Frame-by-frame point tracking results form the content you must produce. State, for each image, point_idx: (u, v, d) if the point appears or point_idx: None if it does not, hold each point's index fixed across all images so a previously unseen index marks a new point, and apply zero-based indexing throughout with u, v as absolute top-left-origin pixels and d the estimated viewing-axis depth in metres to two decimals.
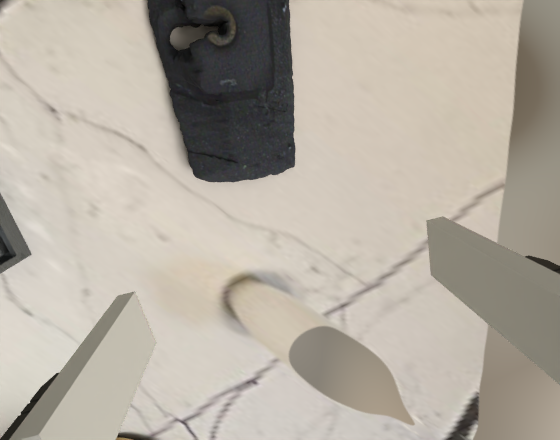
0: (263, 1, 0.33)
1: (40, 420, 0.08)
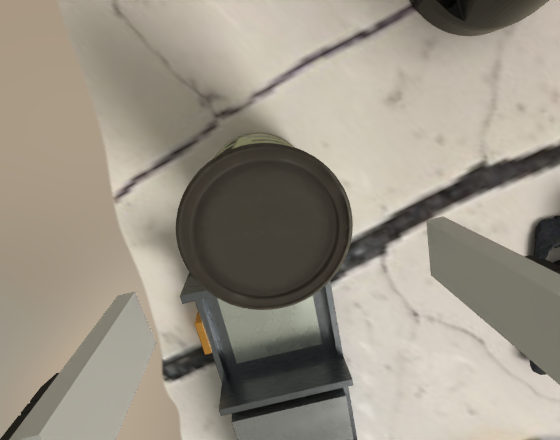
0: None
1: (40, 420, 0.08)
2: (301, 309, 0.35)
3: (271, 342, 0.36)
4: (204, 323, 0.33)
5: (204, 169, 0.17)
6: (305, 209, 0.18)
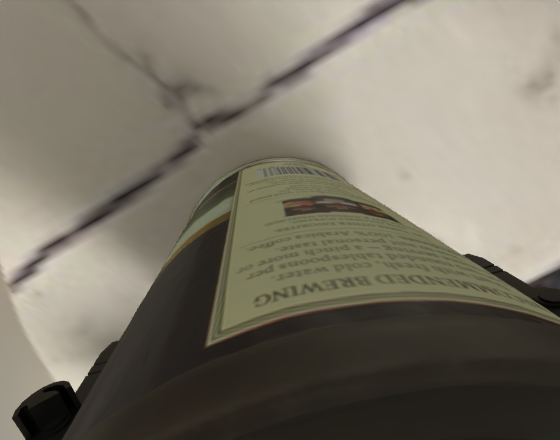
0: None
1: None
2: None
3: None
4: None
5: None
6: None
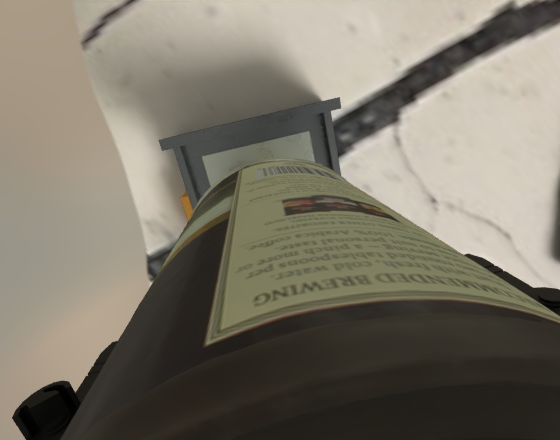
0: None
1: None
2: None
3: None
4: (191, 198, 0.29)
5: None
6: None
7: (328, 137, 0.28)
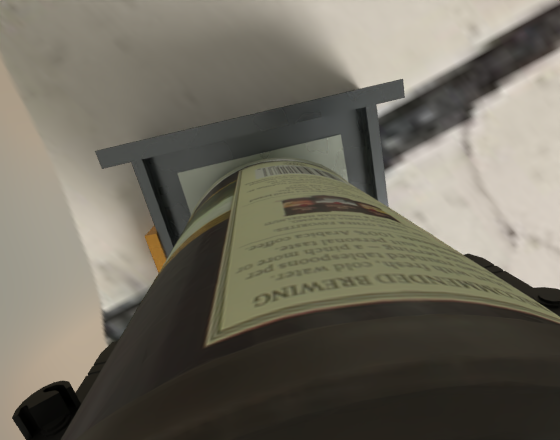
0: None
1: None
2: None
3: None
4: (162, 236, 0.19)
5: None
6: None
7: (371, 144, 0.19)
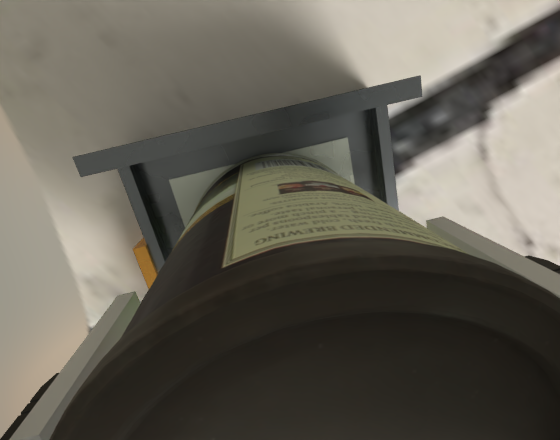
0: None
1: (40, 420, 0.08)
2: None
3: None
4: (152, 249, 0.17)
5: (117, 368, 0.04)
6: None
7: (381, 148, 0.17)
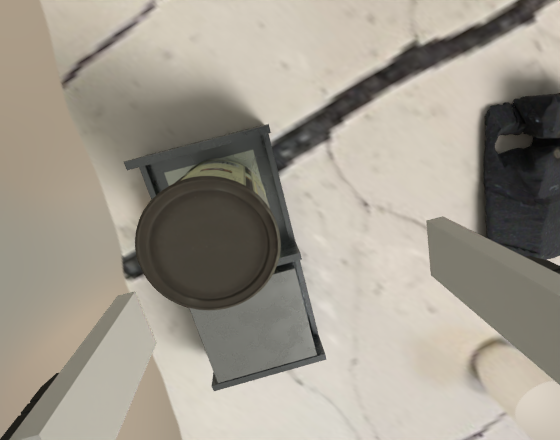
0: None
1: (40, 420, 0.08)
2: None
3: None
4: None
5: (154, 199, 0.22)
6: (239, 226, 0.23)
7: (268, 154, 0.35)
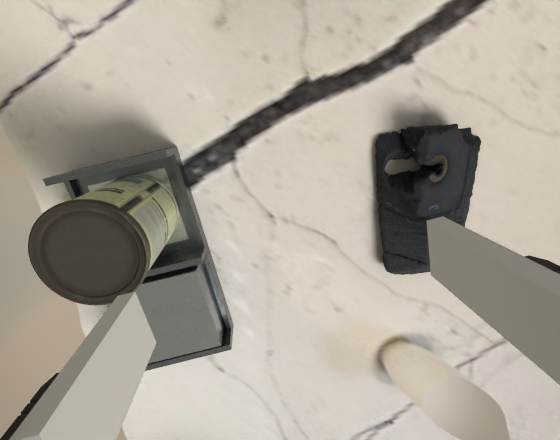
0: (467, 148, 0.43)
1: (40, 420, 0.08)
2: None
3: None
4: None
5: (40, 217, 0.27)
6: (113, 239, 0.29)
7: (176, 173, 0.40)
